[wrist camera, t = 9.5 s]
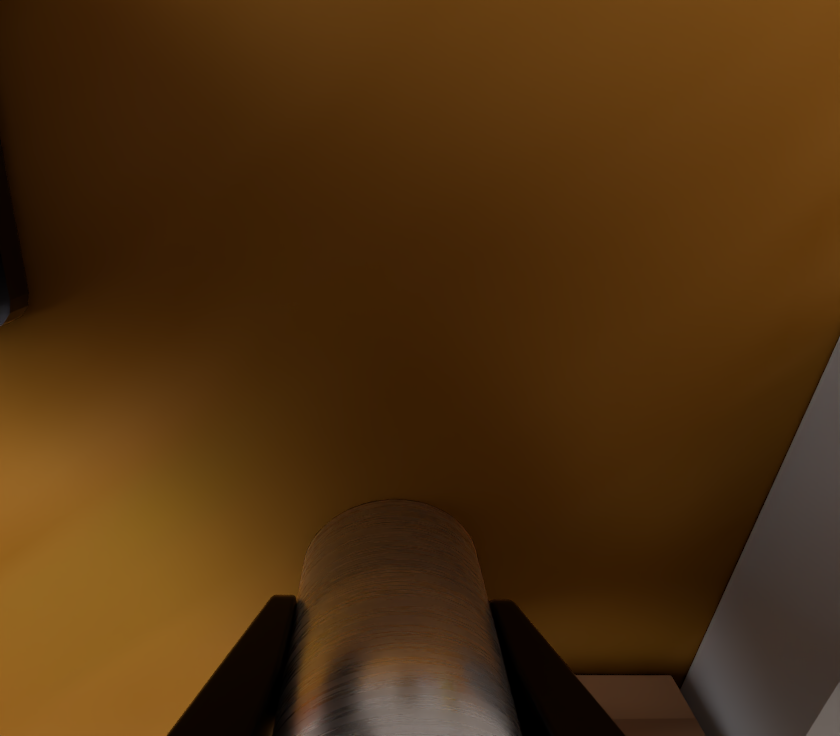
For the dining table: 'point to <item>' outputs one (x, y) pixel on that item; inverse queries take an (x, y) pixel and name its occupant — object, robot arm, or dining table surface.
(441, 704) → the peg
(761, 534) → the gray box
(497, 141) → the dining table surface
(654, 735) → the socket board
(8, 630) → the dining table surface
